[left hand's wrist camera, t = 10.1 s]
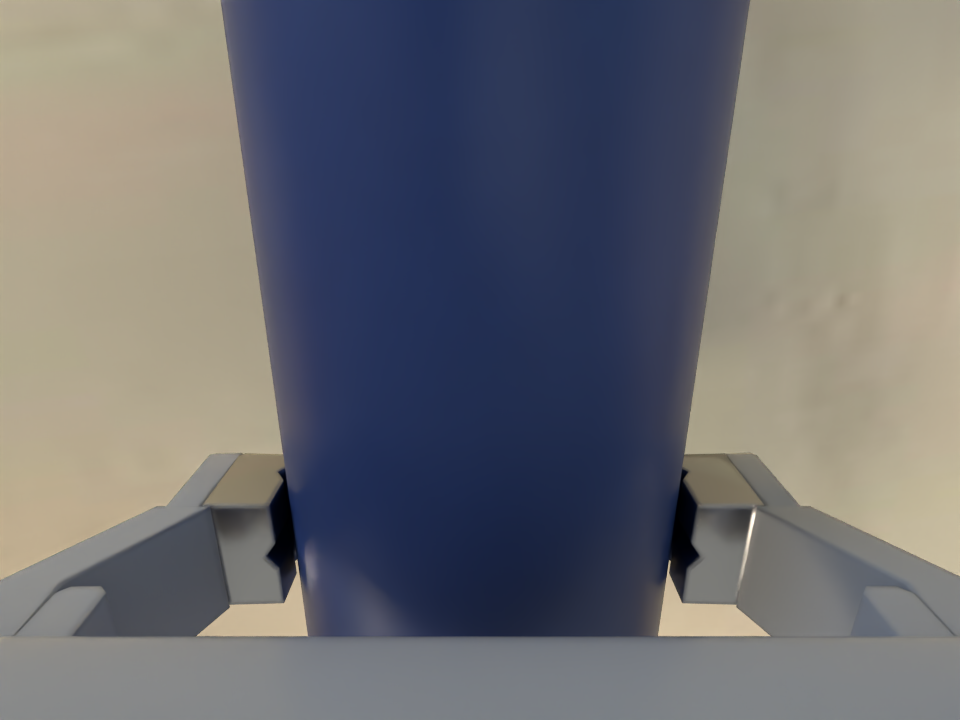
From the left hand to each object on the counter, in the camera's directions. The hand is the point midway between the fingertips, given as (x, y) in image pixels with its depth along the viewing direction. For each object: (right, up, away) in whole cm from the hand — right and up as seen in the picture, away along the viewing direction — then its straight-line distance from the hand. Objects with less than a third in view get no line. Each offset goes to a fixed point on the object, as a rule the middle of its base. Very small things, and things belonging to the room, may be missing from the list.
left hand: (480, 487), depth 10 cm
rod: (0, +10, -1) cm, 10 cm away
